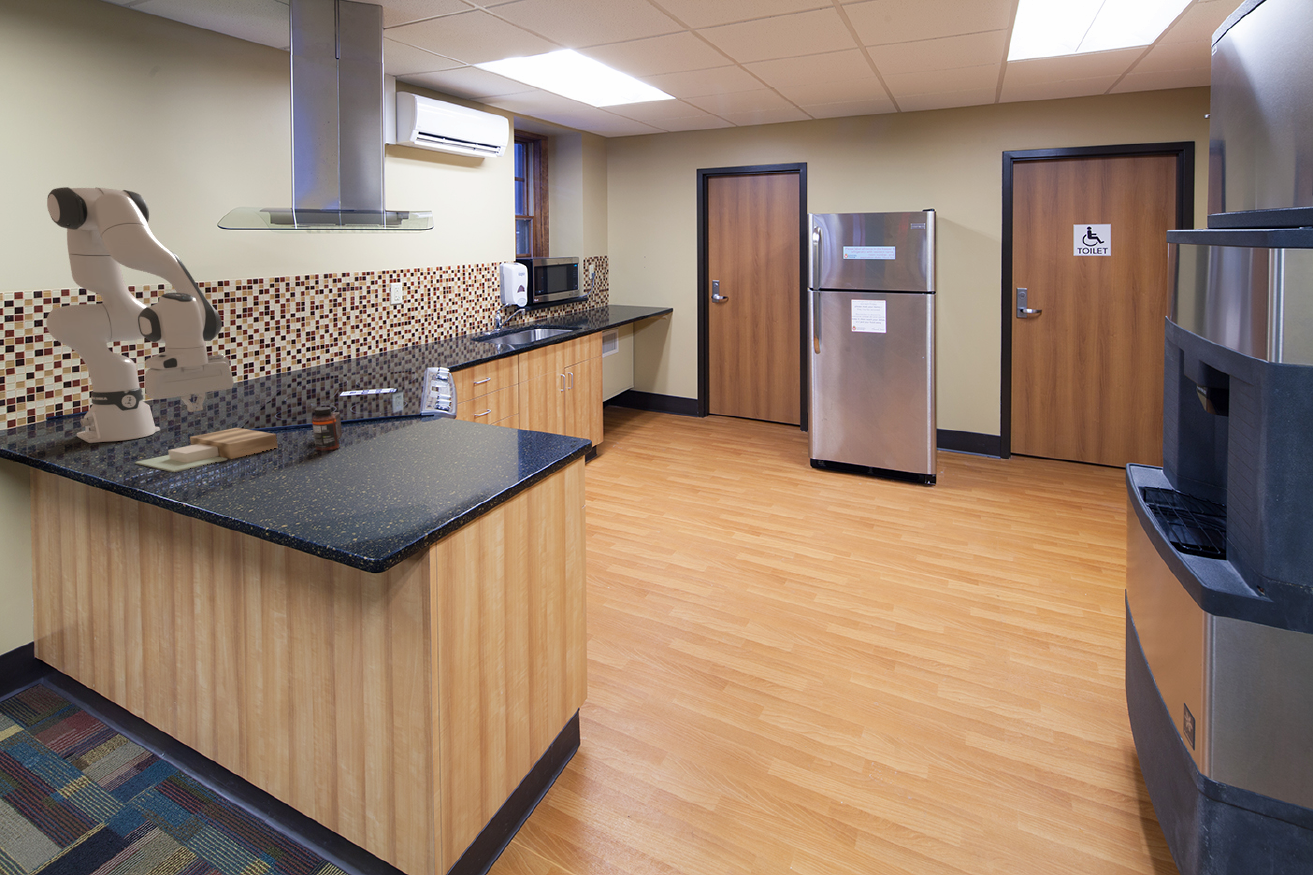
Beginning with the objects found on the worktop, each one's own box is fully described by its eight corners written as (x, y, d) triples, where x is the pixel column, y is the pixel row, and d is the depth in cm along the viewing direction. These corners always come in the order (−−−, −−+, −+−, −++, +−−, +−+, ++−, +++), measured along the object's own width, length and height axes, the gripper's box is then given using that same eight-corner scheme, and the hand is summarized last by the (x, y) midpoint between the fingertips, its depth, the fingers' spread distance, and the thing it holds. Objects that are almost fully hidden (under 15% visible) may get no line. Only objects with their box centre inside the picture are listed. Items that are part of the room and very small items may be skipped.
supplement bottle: (332, 445, 200) (328, 405, 197) (343, 448, 196) (339, 407, 194) (311, 449, 195) (306, 408, 193) (322, 452, 192) (317, 411, 189)
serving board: (192, 451, 194) (189, 437, 193) (239, 441, 205) (237, 427, 204) (231, 459, 186) (228, 444, 185) (277, 448, 197) (275, 434, 196)
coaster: (169, 459, 185) (168, 450, 184) (201, 452, 192) (199, 443, 191) (187, 462, 181) (185, 453, 181) (218, 455, 188) (217, 446, 187)
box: (315, 442, 204) (312, 416, 202) (320, 437, 210) (317, 412, 208) (338, 440, 205) (335, 415, 203) (342, 436, 211) (340, 411, 209)
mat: (135, 463, 182) (135, 461, 182) (188, 452, 194) (188, 450, 193) (174, 472, 174) (173, 470, 174) (227, 459, 185) (227, 458, 185)
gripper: (220, 352, 193) (227, 402, 196) (137, 361, 175) (146, 416, 179) (234, 354, 190) (241, 405, 193) (151, 363, 172) (160, 419, 176)
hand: (195, 410), depth 186 cm, fingers closed
